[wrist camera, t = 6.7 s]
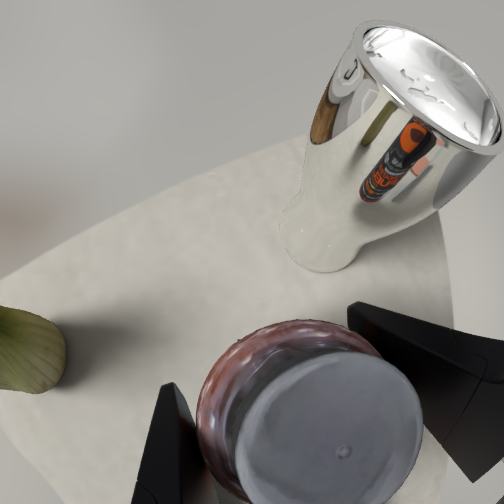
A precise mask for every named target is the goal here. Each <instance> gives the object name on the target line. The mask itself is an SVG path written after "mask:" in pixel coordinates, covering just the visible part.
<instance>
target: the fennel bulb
mask: <svg viewBox="0 0 504 504" xmlns="http://www.w3.org/2000/svg"><path fill="white" fill-rule="evenodd" d="M66 353H67V352H66V346H65V341H64V337H63V335H62V333H61V332H60V331H59V329H58V328H57V326H56V325H55V324H53V323H52V322H50V321H49V320H47V319H45V318H43V317H41V316H39V315H35V314H33V313H30V312H27V311H24V310H20V309H19V310H17V309H14V308H8V307H3V306H0V389H4V390H13V391H22V392H26V393H31V394H40V393H43V392H46V391H48V390H50V389H52V388H53V387H54V386H55V385H56V383H57V382H58V381H59V379H60V378H61V376H62V374H63V372H64V368H65V362H66V356H67V355H66Z"/></svg>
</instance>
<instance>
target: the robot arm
mask: <svg viewBox="0 0 504 504" xmlns="http://www.w3.org/2000/svg"><path fill="white" fill-rule="evenodd" d="M347 323H348V328H349V329H350V330H351V331H354V332H356V333H357V334H359V335H360V336H362V337H363V338H364V339H366V340H367V341H368V342H369V343H370V344H371V345H372V346H373V347H374V348H375V349H376V351H378V352H379V354H380V355H381V356H382V357H383V359H384V360H385V361H387V362H389V363H390V364H392V365H394V366H395V367H396V368H397V369H398V370H399V371H401V372H402V373H403V374H404V375H405V376H406V377H407V379H408V380H409V381H410V383H411V384H412V386H413V387H414V389H415V391H416V392H417V394H418V397H419V400H420V405H421V408H422V412H423V424H424V425H425V426H426V428H427V429H428V430H429V431H430V432H431V434H432V435H433V436H434V437H435V438H436V440H437V441H438V442H439V443H440V444H441V446H442V447H443V448H444V450H445V451H446V452H447V453H448V454H449V456H450V457H451V458H452V459H453V460H454V462H455V463H456V464H457V465H458V466H459V468H460V469H461V470H462V471H463V473H464V474H465V475H466V476H467V478H468V479H469V480H470V481H471V482H472V483H474V482H475V481H476V480H478V479H479V478H480V477H481V476H482V475H484V474H485V473H486V472H488V471H489V470H490V469H491V468H492V467H493V466H495V464H497V463H498V462H499V461H500V460H502V461H503V462H504V341H503V340H497V339H491V338H486V337H481V336H476V335H472V334H468V333H464V332H461V331H457V330H454V329H450V328H447V327H443V326H440V325H437V324H433V323H430V322H426V321H423V320H420V319H416V318H413V317H410V316H406V315H403V314H400V313H396V312H393V311H390V310H386V309H383V308H380V307H376V306H373V305H370V304H367V303H363V302H359V301H358V302H355V303H353V304H351V305H349V306H348V308H347ZM131 504H220V502H219V499H218V495H217V492H216V489H215V486H214V482H213V479H212V476H211V472H210V470H209V469H208V468H207V466H206V464H205V462H204V460H203V457H202V454H201V452H200V449H199V446H198V440H197V434H196V426H195V423H194V421H193V418H192V415H191V413H190V410H189V407H188V405H187V402H186V400H185V398H184V396H183V395H182V393H181V392H180V390H179V389H178V387H177V386H176V384H175V383H174V382H170V383H168V384H165V385H162V386H161V388H160V392H159V395H158V399H157V402H156V406H155V410H154V413H153V417H152V421H151V425H150V428H149V432H148V436H147V440H146V444H145V448H144V452H143V456H142V460H141V464H140V468H139V472H138V477H137V482H136V485H135V489H134V493H133V497H132V501H131ZM496 504H504V496H503V497H502V498H501V499H500V500H499V501H498V502H497V503H496Z"/></svg>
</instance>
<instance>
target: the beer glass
mask: <svg viewBox="0 0 504 504" xmlns="http://www.w3.org/2000/svg"><path fill="white" fill-rule="evenodd" d="M503 150H504V113H503V111H502V109H501V106H500V104H499V102H498V101H497V99H496V97H495V96H494V94H493V92H492V91H491V90H490V88H489V87H488V85H487V84H486V83H485V81H484V80H483V79H482V78H481V77H480V75H479V74H478V73H477V72H476V71H475V70H474V69H473V68H472V67H471V66H470V65H469V64H468V63H467V62H466V61H465V60H464V59H462V58H461V57H460V56H459V55H458V54H457V53H455V52H454V51H453V50H451V49H450V48H449V47H447V46H446V45H444V44H443V43H441V42H440V41H438V40H437V39H435V38H433V37H431V36H430V35H427V34H426V33H423V32H421V31H419V30H417V29H415V28H412V27H410V26H407V25H404V24H400V23H397V22H392V21H385V20H372V21H367V22H364V23H362V24H361V25H359V26H358V27H357V28H356V29H355V31H354V33H353V37H352V39H351V41H350V43H349V45H348V47H347V49H346V51H345V52H344V54H343V56H342V58H341V60H340V61H339V64H338V65H337V67H336V69H335V71H334V73H333V75H332V77H331V79H330V81H329V83H328V85H327V87H326V89H325V91H324V94H323V96H322V98H321V100H320V103H319V105H318V107H317V110H316V113H315V116H314V119H313V122H312V125H311V128H310V131H309V136H308V141H307V146H306V151H305V157H304V165H303V173H302V181H301V187H300V191H299V193H298V194H297V195H296V196H295V197H294V198H293V199H292V200H291V201H290V202H289V203H288V204H287V205H286V207H285V209H284V210H283V212H282V215H281V218H280V224H279V231H280V237H281V241H282V244H283V246H284V248H285V250H286V251H287V253H288V254H289V255H290V257H291V258H292V259H293V260H294V261H296V262H297V263H298V264H299V265H301V266H303V267H304V268H306V269H309V270H311V271H315V272H321V273H327V272H334V271H338V270H340V269H342V268H344V267H346V266H347V265H348V264H350V263H351V262H352V261H353V260H354V258H355V257H356V256H357V254H358V253H359V251H360V249H361V248H362V246H364V245H365V244H367V243H369V242H372V241H375V240H377V239H380V238H383V237H386V236H389V235H391V234H394V233H397V232H399V231H402V230H404V229H406V228H408V227H410V226H412V225H414V224H416V223H418V222H420V221H422V220H424V219H425V218H427V217H428V216H430V215H431V214H433V213H434V212H436V211H437V210H439V209H440V208H442V207H443V206H444V205H445V204H447V203H448V202H449V201H450V200H451V199H453V198H454V197H455V196H456V195H457V194H459V193H460V192H461V191H462V190H463V189H464V188H465V187H466V186H467V185H468V184H469V183H470V182H471V181H472V180H473V179H474V178H475V177H476V176H477V175H478V174H479V173H480V172H481V171H482V170H483V169H484V168H485V167H486V166H487V165H488V164H489V163H490V162H491V161H492V160H493V159H494V158H495V157H496V156H497V154H499V153H501V152H502V151H503Z"/></svg>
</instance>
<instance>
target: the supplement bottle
mask: <svg viewBox="0 0 504 504" xmlns="http://www.w3.org/2000/svg"><path fill="white" fill-rule="evenodd" d="M237 341H238V342H236V343H234V344H233V345H232V346H231V347H229V348H228V350H227V351H226V352H225V353H224V354H223V355H222V356H221V357H220V358H219V359H218V360H217V362H216V363H215V364H214V366H213V368H212V369H211V371H210V372H209V374H208V376H207V378H206V380H205V382H204V385H203V387H202V389H201V392H200V395H199V399H198V403H197V410H196V434H197V440H198V446H199V449H200V452H201V454H202V457H203V460H204V462H205V464H206V466H207V468H208V469H209V470H210V472H211V473H212V475H213V476H214V477H215V479H216V480H217V481H218V482H219V483H220V484H221V485H222V486H223V487H224V488H225V489H226V490H228V491H229V492H230V493H232V494H233V495H234V496H236V497H237V498H239V499H241V500H243V501H245V502H247V503H249V504H383V503H385V502H386V501H387V500H388V499H390V498H391V496H392V495H393V494H394V493H396V491H397V490H398V489H399V488H400V487H401V486H402V485H403V483H404V481H405V480H406V478H407V477H408V475H409V474H410V472H411V470H412V469H413V467H414V465H415V462H416V459H417V457H418V454H419V450H420V446H421V442H422V435H423V412H422V408H421V405H420V400H419V397H418V394H417V392H416V391H415V389H414V387H413V386H412V384H411V383H410V381H409V380H408V379H407V377H406V376H405V375H404V374H403V373H402V372H401V371H399V370H398V369H397V368H396V367H395V366H394V365H392V364H390V363H389V362H387V361H385V360H384V359H383V357H382V356H381V355H380V354H379V352H378V351H376V349H375V348H374V347H373V346H372V345H371V344H370V343H369V342H368V341H367V340H366V339H364V338H363V337H362V336H360V335H359V334H357V333H356V332H354V331H351V330H350V329H347V328H345V327H344V326H342V325H338V324H334V323H330V322H325V321H319V320H311V319H309V320H299V319H296V320H291V321H284V322H281V323H276V324H272V325H270V326H266V327H264V328H261V329H258V330H256V331H255V332H253V333H251V334H249V335H247V336H245V337H244V338H243V339H241V340H240V339H238V340H237Z"/></svg>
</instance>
